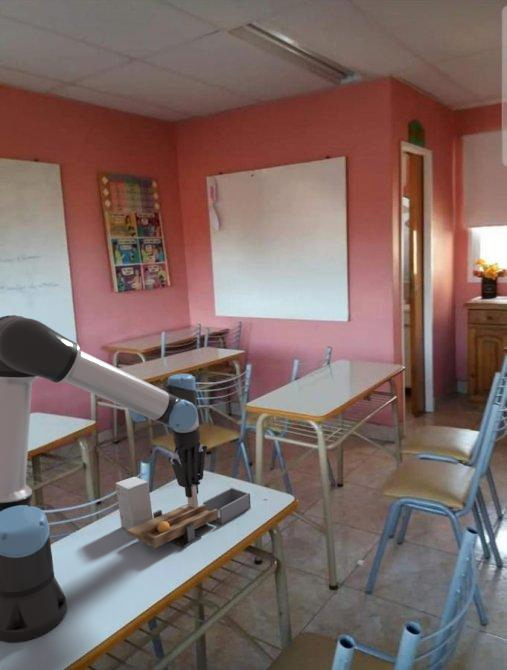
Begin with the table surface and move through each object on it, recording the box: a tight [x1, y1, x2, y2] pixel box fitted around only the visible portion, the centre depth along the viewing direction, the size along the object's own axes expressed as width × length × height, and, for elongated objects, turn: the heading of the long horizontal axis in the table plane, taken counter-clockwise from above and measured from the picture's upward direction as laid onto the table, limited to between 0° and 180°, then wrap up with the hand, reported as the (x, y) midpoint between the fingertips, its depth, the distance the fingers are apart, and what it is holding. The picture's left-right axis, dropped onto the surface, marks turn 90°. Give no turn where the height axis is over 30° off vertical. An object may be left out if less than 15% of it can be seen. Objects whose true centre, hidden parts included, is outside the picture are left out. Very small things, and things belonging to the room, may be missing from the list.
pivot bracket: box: [152, 509, 202, 548], centre depth 151 cm, size 6×15×4 cm, turn 48°
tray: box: [202, 487, 252, 525], centre depth 162 cm, size 12×7×4 cm, turn 138°
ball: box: [157, 521, 170, 533], centre depth 144 cm, size 3×3×3 cm
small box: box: [115, 476, 154, 531], centre depth 155 cm, size 8×6×13 cm
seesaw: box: [126, 503, 218, 549], centre depth 151 cm, size 22×12×2 cm, turn 138°
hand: (193, 505), depth 160 cm, fingers closed
